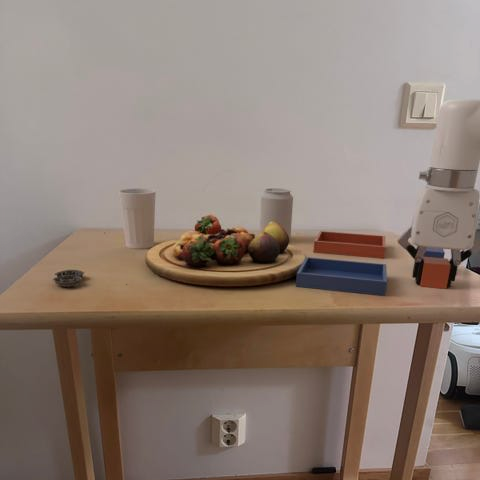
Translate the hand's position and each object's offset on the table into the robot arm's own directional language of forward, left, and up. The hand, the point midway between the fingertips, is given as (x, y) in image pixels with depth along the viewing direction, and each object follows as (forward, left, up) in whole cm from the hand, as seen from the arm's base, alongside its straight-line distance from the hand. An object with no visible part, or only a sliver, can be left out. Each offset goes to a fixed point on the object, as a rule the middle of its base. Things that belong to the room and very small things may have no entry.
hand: (432, 282), depth 89 cm
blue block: (0, -9, 0) cm, 9 cm away
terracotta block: (0, 0, 0) cm, 0 cm away
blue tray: (+16, +4, 0) cm, 16 cm away
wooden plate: (+39, 0, 0) cm, 39 cm away
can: (+34, -24, -1) cm, 42 cm away
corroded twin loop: (+62, +20, 0) cm, 65 cm away
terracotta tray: (+16, -21, 0) cm, 26 cm away
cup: (+62, -8, -1) cm, 63 cm away
